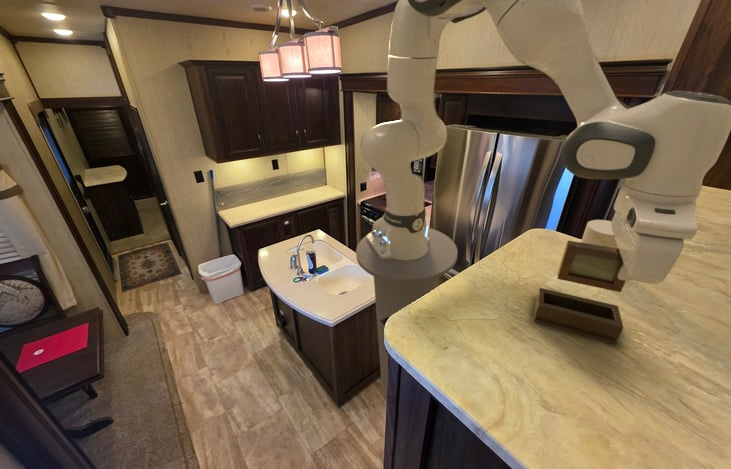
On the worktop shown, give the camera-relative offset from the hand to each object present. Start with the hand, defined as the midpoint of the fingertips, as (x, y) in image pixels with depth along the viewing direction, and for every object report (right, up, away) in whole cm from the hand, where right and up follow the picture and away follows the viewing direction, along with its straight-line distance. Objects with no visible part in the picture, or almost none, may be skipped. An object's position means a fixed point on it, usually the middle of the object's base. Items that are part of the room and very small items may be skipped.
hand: (621, 273), depth 53 cm
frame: (-3, -2, +4) cm, 6 cm away
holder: (-3, -11, +9) cm, 14 cm away
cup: (+13, -2, +24) cm, 27 cm away
